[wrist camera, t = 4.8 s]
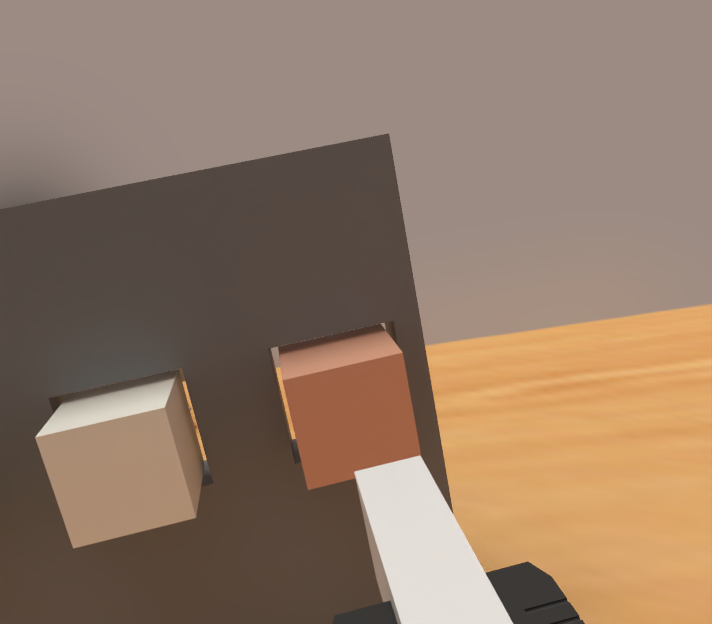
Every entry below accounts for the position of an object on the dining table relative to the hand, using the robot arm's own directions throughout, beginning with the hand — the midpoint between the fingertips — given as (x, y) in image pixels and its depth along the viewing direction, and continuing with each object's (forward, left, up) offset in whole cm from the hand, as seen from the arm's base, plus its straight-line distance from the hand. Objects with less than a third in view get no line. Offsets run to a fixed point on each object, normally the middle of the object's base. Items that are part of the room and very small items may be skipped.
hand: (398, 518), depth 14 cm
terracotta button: (0, +7, -2) cm, 7 cm away
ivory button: (-7, +7, -2) cm, 10 cm away
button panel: (-7, +12, -10) cm, 17 cm away
